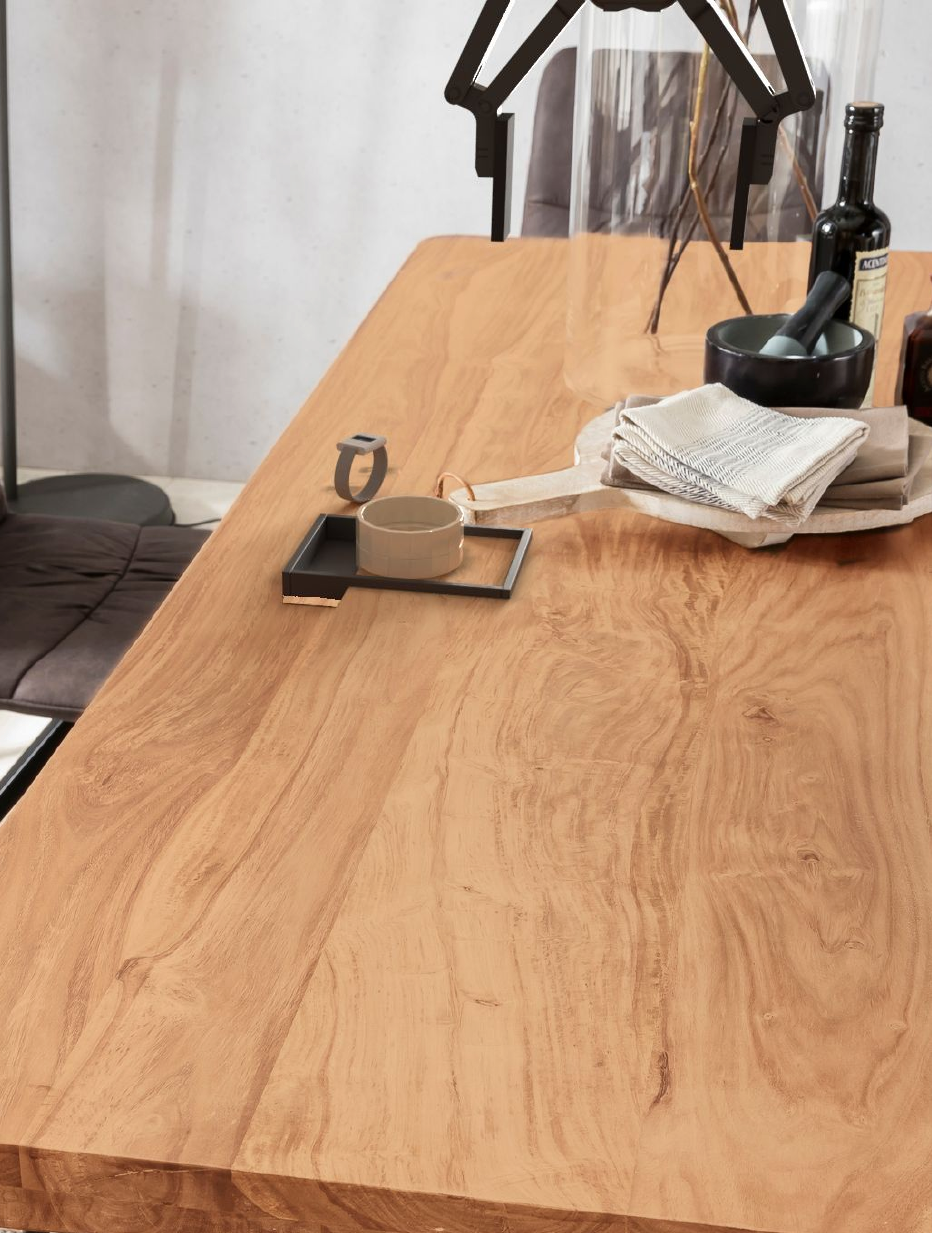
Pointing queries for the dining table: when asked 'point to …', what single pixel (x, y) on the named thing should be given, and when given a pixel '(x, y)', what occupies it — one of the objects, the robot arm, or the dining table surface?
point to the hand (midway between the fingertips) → (617, 242)
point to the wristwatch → (349, 449)
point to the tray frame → (332, 570)
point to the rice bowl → (409, 536)
